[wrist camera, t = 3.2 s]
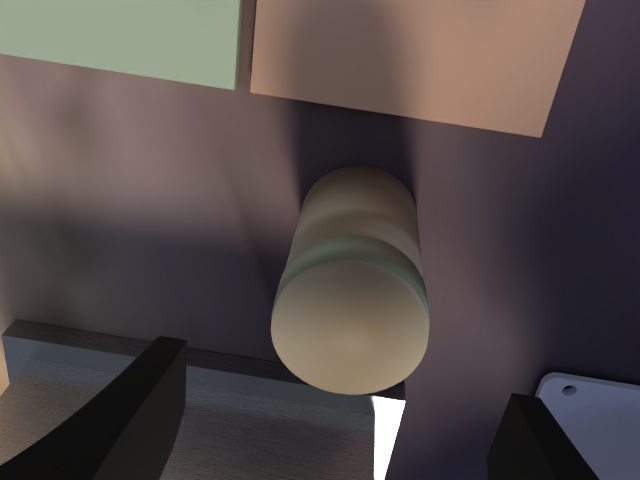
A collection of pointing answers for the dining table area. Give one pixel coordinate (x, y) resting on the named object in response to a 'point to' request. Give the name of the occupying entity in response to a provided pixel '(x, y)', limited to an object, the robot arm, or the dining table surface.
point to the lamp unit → (204, 409)
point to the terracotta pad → (419, 57)
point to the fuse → (353, 285)
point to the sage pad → (130, 36)
